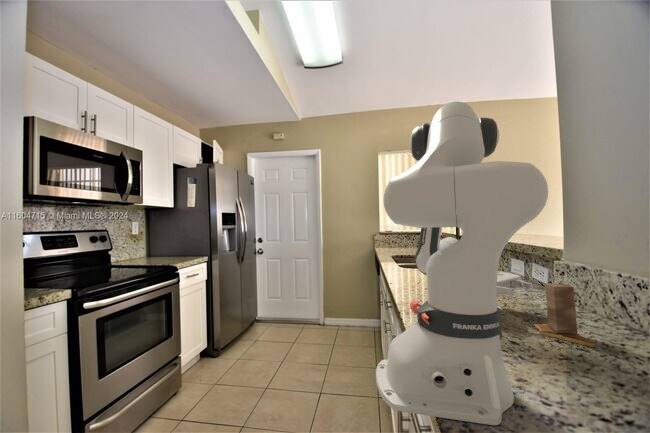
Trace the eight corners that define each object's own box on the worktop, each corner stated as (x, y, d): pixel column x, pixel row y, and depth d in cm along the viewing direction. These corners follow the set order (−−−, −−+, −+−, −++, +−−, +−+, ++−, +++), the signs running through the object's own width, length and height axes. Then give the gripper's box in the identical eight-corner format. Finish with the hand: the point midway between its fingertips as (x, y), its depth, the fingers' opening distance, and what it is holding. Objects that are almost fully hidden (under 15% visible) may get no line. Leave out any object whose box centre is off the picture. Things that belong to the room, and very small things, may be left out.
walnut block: (557, 332, 64) (553, 286, 64) (548, 326, 68) (545, 283, 68) (577, 334, 63) (573, 287, 63) (567, 328, 67) (563, 283, 67)
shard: (597, 351, 58) (597, 342, 58) (558, 349, 60) (558, 341, 60) (561, 331, 69) (561, 324, 69) (529, 330, 70) (529, 323, 70)
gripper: (453, 274, 81) (500, 283, 69) (492, 267, 90) (540, 273, 78) (454, 295, 81) (501, 307, 69) (493, 285, 90) (541, 295, 78)
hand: (522, 289), depth 73 cm, fingers open, 8 cm apart
